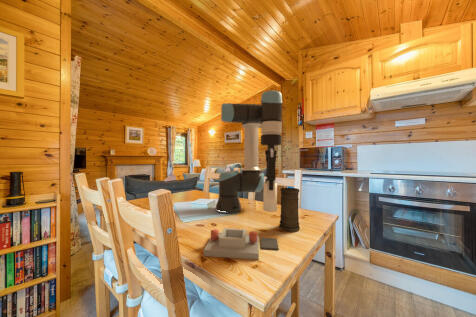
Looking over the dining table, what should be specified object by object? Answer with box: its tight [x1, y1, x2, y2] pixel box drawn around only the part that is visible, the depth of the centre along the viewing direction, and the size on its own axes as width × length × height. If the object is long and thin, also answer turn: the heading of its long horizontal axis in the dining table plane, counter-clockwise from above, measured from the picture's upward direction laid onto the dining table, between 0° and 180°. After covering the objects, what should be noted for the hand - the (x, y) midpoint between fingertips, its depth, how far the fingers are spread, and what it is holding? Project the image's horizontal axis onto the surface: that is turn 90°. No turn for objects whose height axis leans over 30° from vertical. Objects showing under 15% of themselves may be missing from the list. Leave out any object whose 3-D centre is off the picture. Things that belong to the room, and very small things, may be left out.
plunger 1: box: [210, 229, 220, 240], centre depth 69 cm, size 3×3×3 cm
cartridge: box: [262, 180, 278, 213], centre depth 70 cm, size 5×5×11 cm
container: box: [279, 187, 301, 233], centre depth 86 cm, size 9×9×18 cm
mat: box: [260, 237, 280, 251], centre depth 71 cm, size 8×6×1 cm
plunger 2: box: [248, 231, 258, 243], centre depth 67 cm, size 3×3×3 cm
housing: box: [203, 227, 260, 260], centre depth 68 cm, size 14×18×5 cm
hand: (270, 197), depth 70 cm, fingers closed on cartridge, 5 cm apart
